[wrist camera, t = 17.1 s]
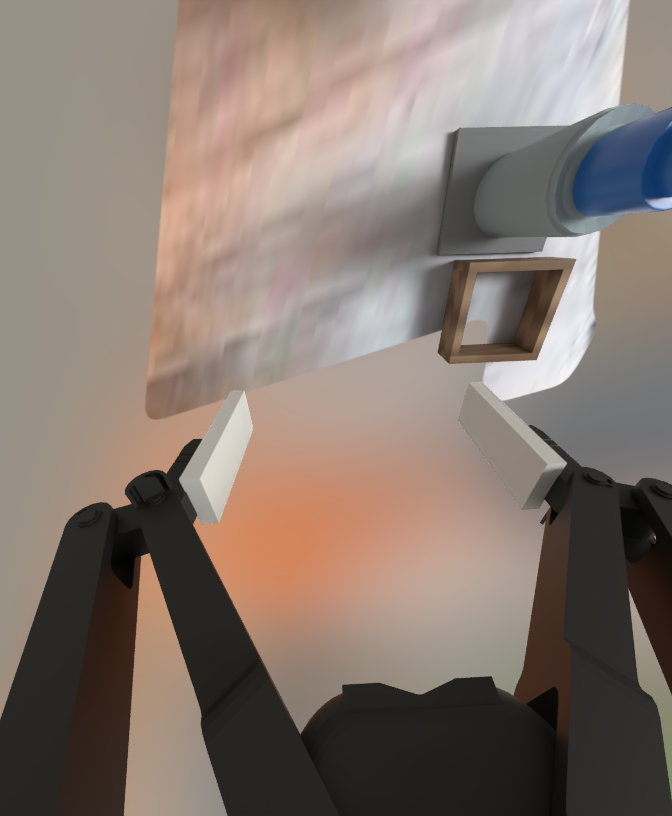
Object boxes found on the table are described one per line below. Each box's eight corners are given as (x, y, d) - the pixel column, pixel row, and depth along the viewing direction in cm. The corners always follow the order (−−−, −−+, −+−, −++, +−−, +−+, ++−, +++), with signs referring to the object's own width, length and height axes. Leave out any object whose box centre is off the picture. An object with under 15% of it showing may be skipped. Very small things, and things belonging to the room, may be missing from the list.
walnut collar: (454, 260, 40) (470, 262, 36) (549, 256, 40) (576, 258, 36) (437, 352, 48) (449, 363, 43) (517, 349, 48) (536, 359, 44)
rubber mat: (455, 130, 32) (459, 128, 32) (576, 128, 33) (583, 125, 32) (437, 254, 39) (439, 254, 38) (537, 251, 40) (541, 251, 39)
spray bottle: (557, 185, 35) (920, 103, 14) (501, 251, 39) (719, 266, 18) (515, 131, 32) (894, -79, 11) (459, 208, 36) (659, 164, 15)
